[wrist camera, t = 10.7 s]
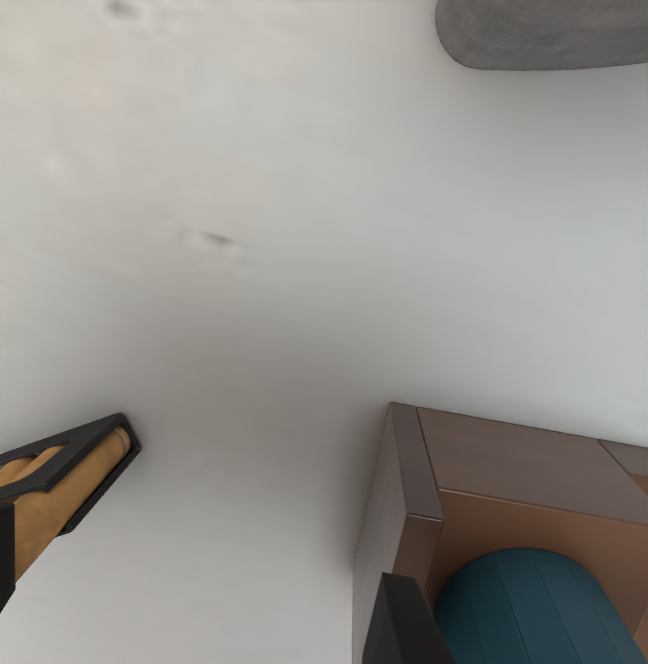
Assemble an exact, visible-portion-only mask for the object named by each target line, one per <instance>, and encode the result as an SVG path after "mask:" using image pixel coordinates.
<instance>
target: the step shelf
mask: <svg viewBox="0 0 648 664" xmlns="http://www.w3.org/2000/svg"><path fill="white" fill-rule="evenodd" d="M519 548H529V549H540V550H546V551H550V552H554V553H557V554H560V555H563V556H565V557H568V558H570V559H571V560H573V561H575V562H577V563H578V564H580V565H581V566H583V567H584V568H586V569H587V570H588V571H589V572H590V573H591V574H592V575H593V576H594V577H595V578H596V579H597V581H598V582H599V583H600V585H601V586H602V588H603V590H604V591H605V593H606V595H607V596H608V598H609V599H610V601H611V602H612V604H613V605H614V607H615V608H616V610H617V611H618V613H619V615H620V616H621V618H622V620H623V621H624V623H625V625H626V626H627V628H628V630H629V631H630V633H631V635H632V636H633V638H634V640H635V641H636V643H637V645H638V646H639V648H640V650H641V651H642V653H643V654H644V656H645V658H646V659H647V661H648V449H647V448H642V447H636V446H631V445H625V444H619V443H614V442H608V441H603V440H595V439H591V438H586V437H580V436H574V435H569V434H563V433H558V432H552V431H547V430H541V429H536V428H530V427H525V426H519V425H513V424H508V423H502V422H497V421H491V420H486V419H480V418H475V417H469V416H464V415H458V414H452V413H447V412H441V411H436V410H430V409H425V408H419V407H417V408H416V407H415V406H410V405H404V404H399V403H393V402H391V403H390V406H389V410H388V415H387V419H386V424H385V428H384V433H383V437H382V442H381V446H380V451H379V455H378V460H377V464H376V469H375V473H374V478H373V482H372V487H371V491H370V496H369V500H368V505H367V509H366V513H365V518H364V522H363V527H362V531H361V536H360V540H359V545H358V549H357V554H356V558H355V563H354V567H353V607H352V664H362V653H363V649H364V645H365V641H366V636H367V632H368V628H369V624H370V620H371V616H372V612H373V608H374V604H375V599H376V595H377V591H378V587H379V583H380V579H381V575H382V572H385V573H391V574H396V575H402V576H407V577H412V578H414V579H415V580H416V582H417V583H418V585H419V587H420V590H421V592H422V594H423V596H424V599H425V601H426V603H427V605H428V607H429V609H430V612H431V614H432V616H433V615H434V610H435V605H436V602H437V600H438V597H439V595H440V593H441V591H442V589H443V588H444V586H445V585H446V584H447V582H448V581H449V580H450V579H451V578H452V577H453V576H454V575H455V574H456V573H457V572H458V571H459V570H461V569H462V568H463V567H464V566H466V565H467V564H469V563H471V562H473V561H474V560H476V559H478V558H481V557H483V556H485V555H488V554H491V553H495V552H498V551H503V550H508V549H519Z"/></svg>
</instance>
